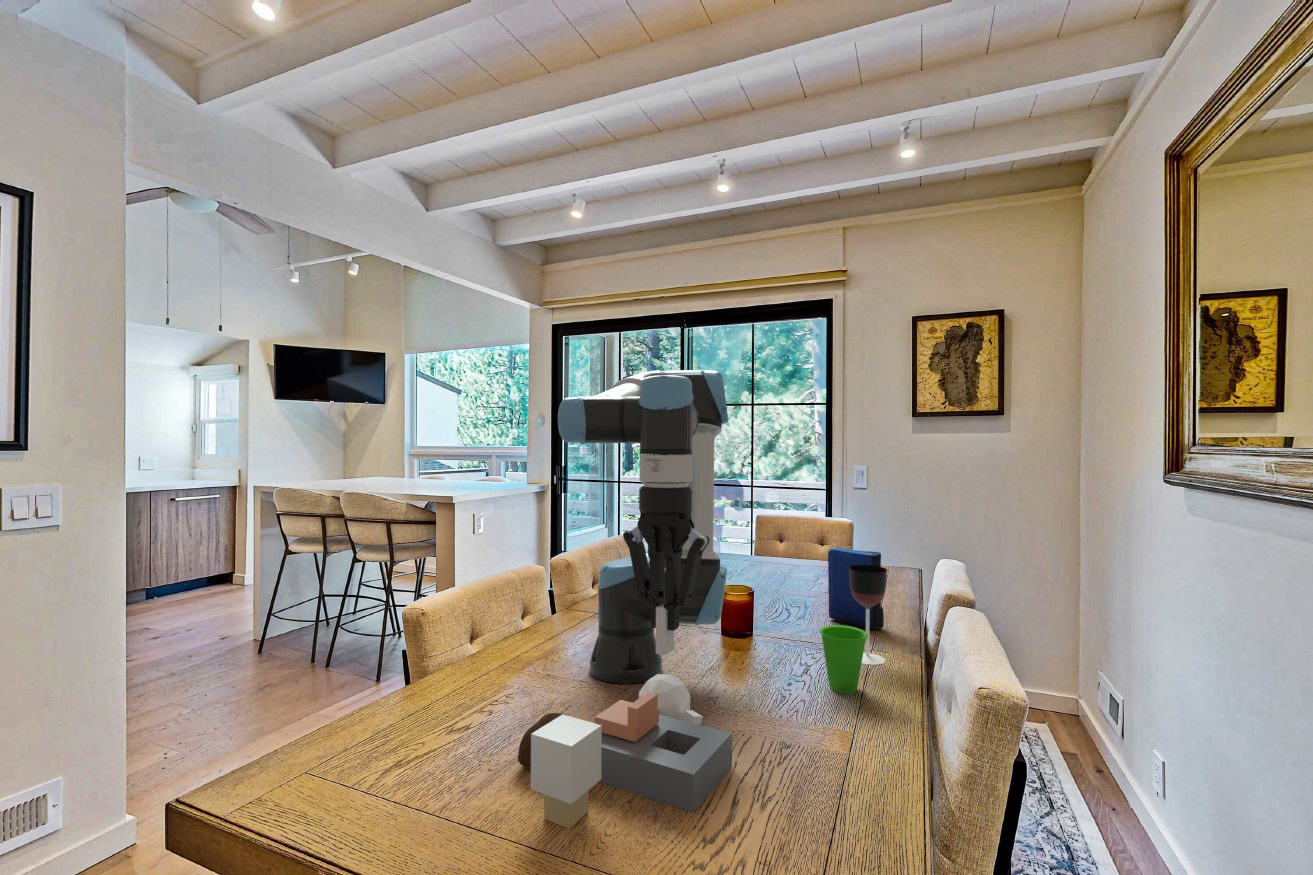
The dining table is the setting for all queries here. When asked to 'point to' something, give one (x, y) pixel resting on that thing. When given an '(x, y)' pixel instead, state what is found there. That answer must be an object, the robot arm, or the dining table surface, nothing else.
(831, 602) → the book
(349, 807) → the dining table surface
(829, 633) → the cup
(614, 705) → the orange l-shaped block
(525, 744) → the potato
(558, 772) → the plug
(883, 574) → the wineglass
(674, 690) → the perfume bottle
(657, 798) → the socket board
